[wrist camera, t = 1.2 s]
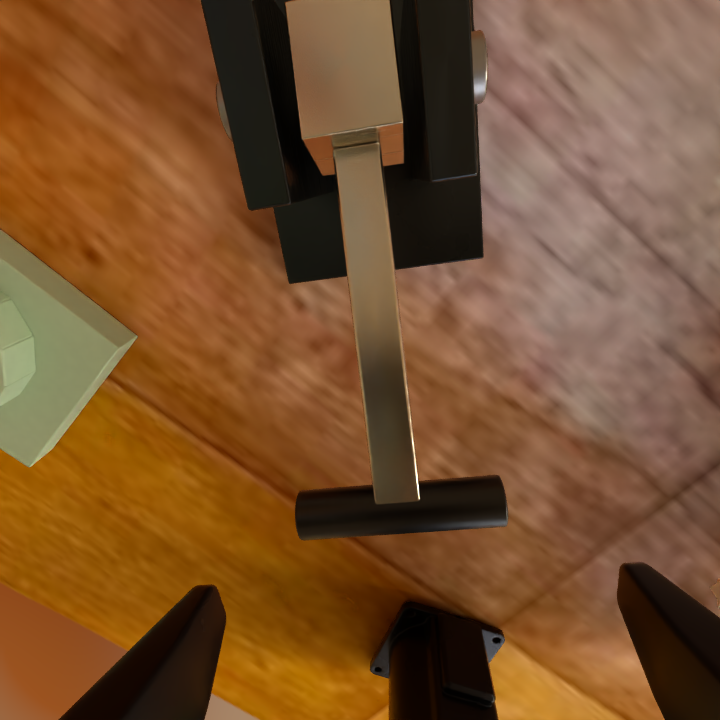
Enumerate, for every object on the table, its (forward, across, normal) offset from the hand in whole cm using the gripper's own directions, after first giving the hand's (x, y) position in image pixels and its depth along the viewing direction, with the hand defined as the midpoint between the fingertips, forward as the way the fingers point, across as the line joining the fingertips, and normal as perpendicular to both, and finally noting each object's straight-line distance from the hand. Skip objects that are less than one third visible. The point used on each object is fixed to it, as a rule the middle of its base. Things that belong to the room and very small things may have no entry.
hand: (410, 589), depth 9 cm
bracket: (+13, 0, -10) cm, 16 cm away
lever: (+5, 0, -5) cm, 7 cm away
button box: (+13, +19, -4) cm, 23 cm away
